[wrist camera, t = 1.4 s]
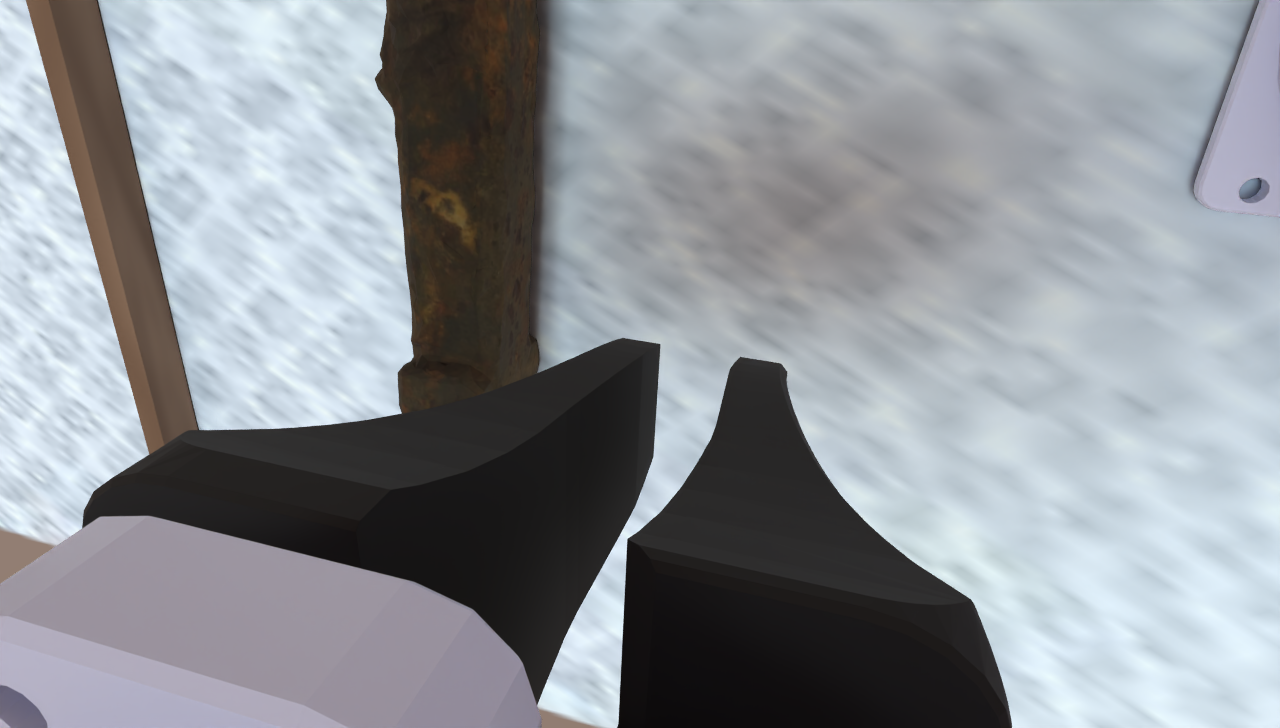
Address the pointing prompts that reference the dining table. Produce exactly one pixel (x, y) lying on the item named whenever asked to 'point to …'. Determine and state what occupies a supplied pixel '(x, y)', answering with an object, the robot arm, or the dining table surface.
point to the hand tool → (464, 189)
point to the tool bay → (114, 210)
